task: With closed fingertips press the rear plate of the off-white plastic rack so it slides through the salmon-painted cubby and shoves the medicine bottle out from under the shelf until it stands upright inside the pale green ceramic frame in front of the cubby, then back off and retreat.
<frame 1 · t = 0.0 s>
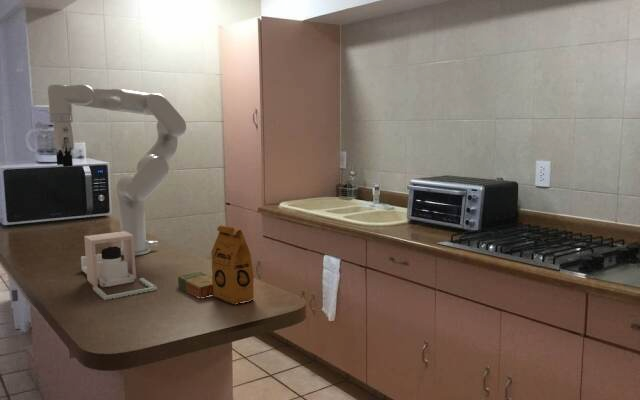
hand: (64, 165, 209), 37 cm above the worktop, tool pointing down, fingers open, 9 cm apart
medicine bottle: (113, 283, 188), resting in rack
frame: (123, 288, 180), on the worktop
carton: (200, 292, 178), on the worktop
rack: (106, 268, 194), point 3 cm above the worktop, slide at 0.0 cm, touching medicine bottle
cubby: (111, 280, 190), on the worktop
coffee package: (233, 300, 169), on the worktop
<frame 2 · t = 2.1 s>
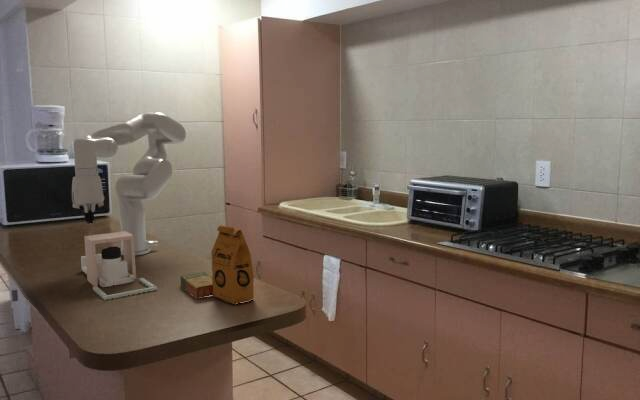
hand: (89, 222, 206), 16 cm above the worktop, tool pointing down, fingers closed
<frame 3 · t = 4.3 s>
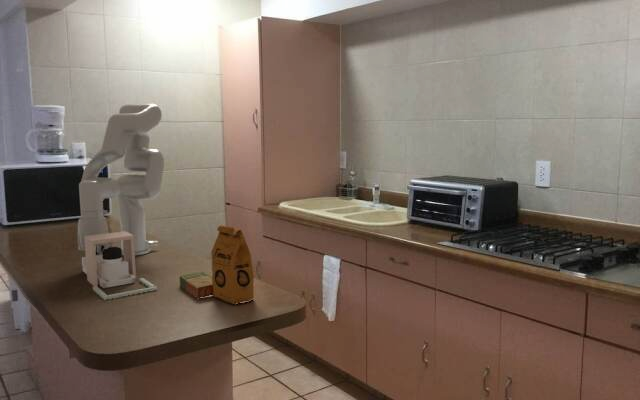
hand: (95, 264, 205), 1 cm above the worktop, tool pointing down, fingers closed
rack: (107, 269, 193), point 3 cm above the worktop, slide at 1.0 cm, touching gripper, medicine bottle
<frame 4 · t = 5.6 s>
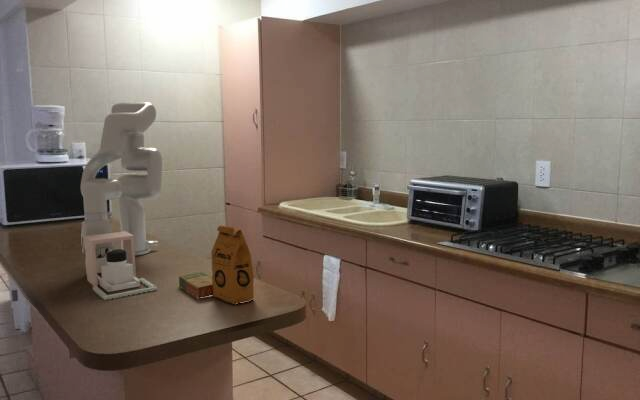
hand: (99, 267, 201), 1 cm above the worktop, tool pointing down, fingers closed
medicine bottle: (118, 286, 184), resting in rack
rack: (111, 272, 189), point 3 cm above the worktop, slide at 6.1 cm, touching gripper, medicine bottle
everything else where it was.
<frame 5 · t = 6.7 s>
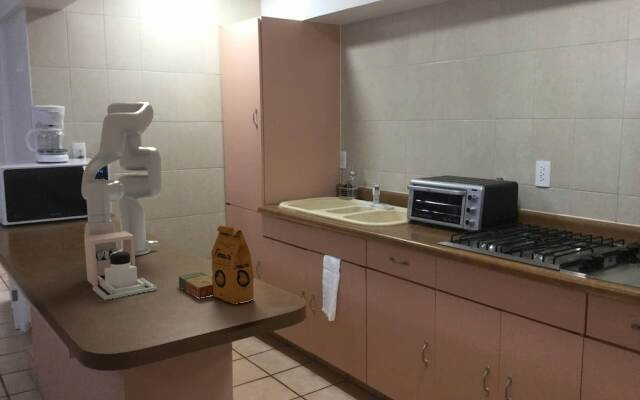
hand: (103, 270, 198), 1 cm above the worktop, tool pointing down, fingers closed
medicine bottle: (122, 289, 181), resting in rack
rack: (115, 275, 186), point 3 cm above the worktop, slide at 10.3 cm, touching gripper, medicine bottle
everything else where it was.
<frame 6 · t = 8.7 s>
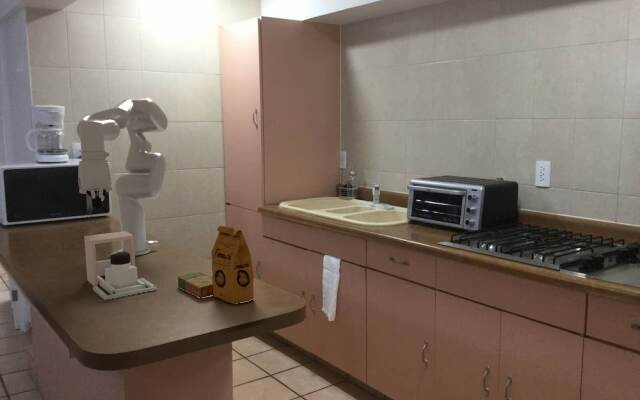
hand: (97, 208, 197), 23 cm above the worktop, tool pointing down, fingers closed
rack: (115, 275, 186), point 3 cm above the worktop, slide at 10.6 cm, touching medicine bottle
everything else where it was.
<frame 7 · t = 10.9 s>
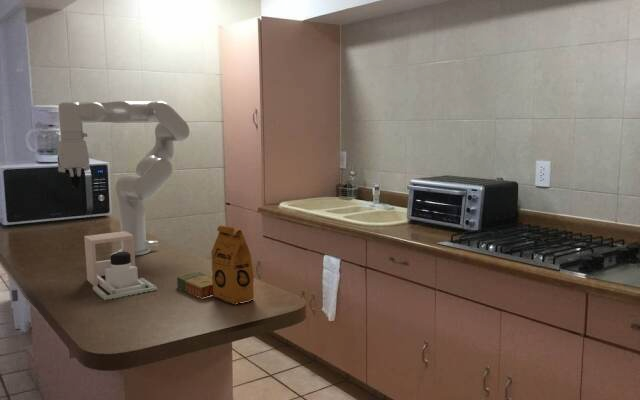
hand: (75, 187, 207), 29 cm above the worktop, tool pointing down, fingers closed
nothing on the worktop moved.
at the end: medicine bottle inside the target area (1.4 cm from its centre), resting in rack; medicine bottle tilted 0°; rack slide at 10.9 cm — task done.
